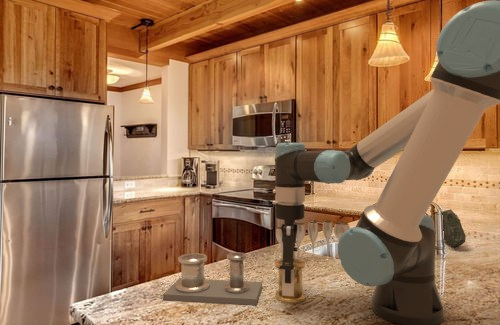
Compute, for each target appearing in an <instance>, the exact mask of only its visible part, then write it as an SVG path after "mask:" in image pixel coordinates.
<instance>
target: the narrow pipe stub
mask: <svg viewBox="0 0 500 325" xmlns="http://www.w3.org/2000/svg"><path fill="white" fill-rule="evenodd" d="M226 259H227V260H228V261H229V280H230V283H227V284H226V285H225V291H226V292H228V293H233V294H239V293H244V292H247V291H248V290H249V285H248V284H247V283H245V282H244V281H245V280H244V277H245V274H244V273H245V272H244V268H245V266H244V260H246V259H247V254H246V253H245V252H239V251H238V252H230V253H227V255H226Z"/></svg>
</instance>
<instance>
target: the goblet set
mask: <svg viewBox="0 0 500 325" xmlns="http://www.w3.org/2000/svg"><path fill="white" fill-rule="evenodd" d="M295 225H297V234H296V243H295V245H296V248H298V249H297V259H299V260H302V261H304V262H305V263H306V260H305V259H302V258H300V244H301V243H302V241H304V238H305V236H306V232H308V233H307V234H308V237H309V239H310V241H311V244H312V245H311V247H312V257H308V258H307V261H310V262H318V261H319V260H320V259H319V258H317V257H315V256H314V255H315V254H314V253H315V252H314V250H315V242H316V239H317V238H318V235H319V223H318V221H313V220H312V221H308V223H307V230H306V223H304V222H296V221H295ZM281 228H282V226H277V227H276V229H275V237H276V239H277V242H278V244H279V245H280V247H281V256H282V258H281V259H283V243H282V231H281ZM350 228H351V227H350V225H349V223H348V222H335V223H334V226H333V221H330V220H324V221H322V233H323V236H324V238H325V241H326V254H327V255H326V256H322V259H323V260H329V261H331V260H333V259H334V257H333V256H329V244H330V243H329V242H330V239H331V238H332V237H331V236H332V235H333V233H334V236H335V237H336V238H337V239H338V241H339V240H340V237H341V236H342V234H343V233H344V232H346V231H347V230H348V229H350ZM335 258H338V259H340V258H339V256H338V254H336V255H335Z"/></svg>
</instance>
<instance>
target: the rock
mask: <svg viewBox="0 0 500 325" xmlns="http://www.w3.org/2000/svg"><path fill="white" fill-rule="evenodd" d="M441 213H442V215H443V231H444V239H443V241H444V242H445V243H446V244H447V245H448V246H449V247H451V248H458V247H460V246H462V245H463V244H465V243H466V238H467V237H466V236H467V235H466V233H465V231H464V228H463V227H462V223H461V219H460V218H459V216H458V215H457V214H456V213H455V212H454V211H453V210H452V209H448V210H446V209H445V210H443V211H442V212H441Z"/></svg>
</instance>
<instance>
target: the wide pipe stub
mask: <svg viewBox="0 0 500 325" xmlns="http://www.w3.org/2000/svg"><path fill="white" fill-rule="evenodd" d="M177 258H178V260H177V261H178V263H179V264H181V265H180V266H181V268H180V269H181V270H180V272H181V278H182V280H181V281H179V282H178V283H177V284H176V290H177V291H179V292H182V293H198V292H202V291H205V290H207V289H208V288H209V287H210V282H209V281H208V280H209V279H208V280H206V278H205V262H207V261H208V256H207V254H205V253H198V252H195V253H193V252H192V253H191V252H190V253H186V254H181V255H180V256H178V257H177Z"/></svg>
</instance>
